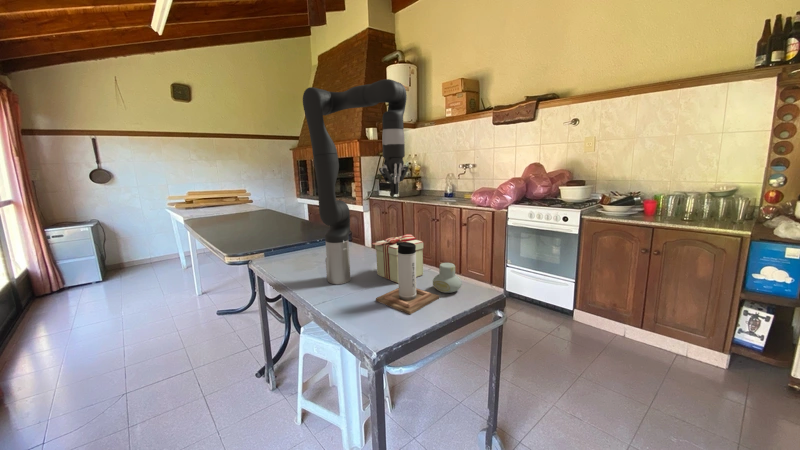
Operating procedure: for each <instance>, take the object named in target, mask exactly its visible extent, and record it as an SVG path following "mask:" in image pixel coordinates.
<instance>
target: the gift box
mask: <svg viewBox="0 0 800 450" xmlns="http://www.w3.org/2000/svg"><path fill="white" fill-rule="evenodd" d="M397 242H409V243H413V244H415V245H416V249H415V250H416V278H417V277H420V276H423V275H424V258H423V256H424V255H423V250H424V241H422V240H419V239H417V237H415V236H414V235H413V234H411V233H406V234H403V235H401V236H396V237H388V238H384V240H379V241H375V242H371V245H373V246H374V250H375V253H376V254H375V255H376V274H377V276H380V277H381V278H384V279H386V280H389V281H392V282H394V283H396V284H399V283H398V246H397Z"/></svg>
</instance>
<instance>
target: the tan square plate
mask: <svg viewBox="0 0 800 450" xmlns="http://www.w3.org/2000/svg"><path fill="white" fill-rule="evenodd" d="M439 299H440V295H439V294H435V293H433V292H429V291H426V290H423V289H420V288H417V287H416V298H415V299H413V300H402V299H400V298H399V287H398V288H394V289H393V290H391V291H389V292H386V293H384V294H381V295H380V296H378V297H376V298H375V301H376V302H378V303H380V304H382V305H386V306H387V307H390V308H393V309H395V310H398V311H401V312H403V313H406V314H407V315H408V314H409V315H412V314H414V313H416V312H417V311H419V310H421V309H423V308H424V307H426V306H428V305H430V304H431V303H433V302H435V301H437V300H439Z"/></svg>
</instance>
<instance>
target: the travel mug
mask: <svg viewBox="0 0 800 450" xmlns="http://www.w3.org/2000/svg"><path fill="white" fill-rule="evenodd" d="M397 246H398V283H397V284H398V288H399V298H400V299H402V300H413V299H415V298H416V288H417V277H416V250H415V249H416V245H415V244H413V243H409V242H397Z"/></svg>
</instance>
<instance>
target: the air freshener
mask: <svg viewBox="0 0 800 450" xmlns="http://www.w3.org/2000/svg"><path fill="white" fill-rule="evenodd" d="M438 272H439V274H437V275H436V276H434V278H433V279H432V286H433V287H434V288H435V289H436V290H437V291H439V292H440V293H442V294H443V293H444V294H451V293H454V292H455V293H456V292H457V291H458V290H460V289H461V288H462V285H463V283H462V279H461V278H460V277H459V276H458V275H457V274H456V265H455V264H454V263H452V262H442V263H440V264H439V271H438Z"/></svg>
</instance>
